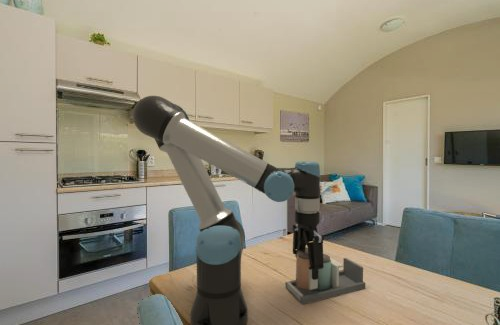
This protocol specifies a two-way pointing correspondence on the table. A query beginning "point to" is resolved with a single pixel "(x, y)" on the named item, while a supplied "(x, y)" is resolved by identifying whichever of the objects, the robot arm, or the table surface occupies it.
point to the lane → (347, 283)
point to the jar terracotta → (302, 269)
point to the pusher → (335, 273)
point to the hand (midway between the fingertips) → (306, 283)
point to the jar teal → (324, 274)
